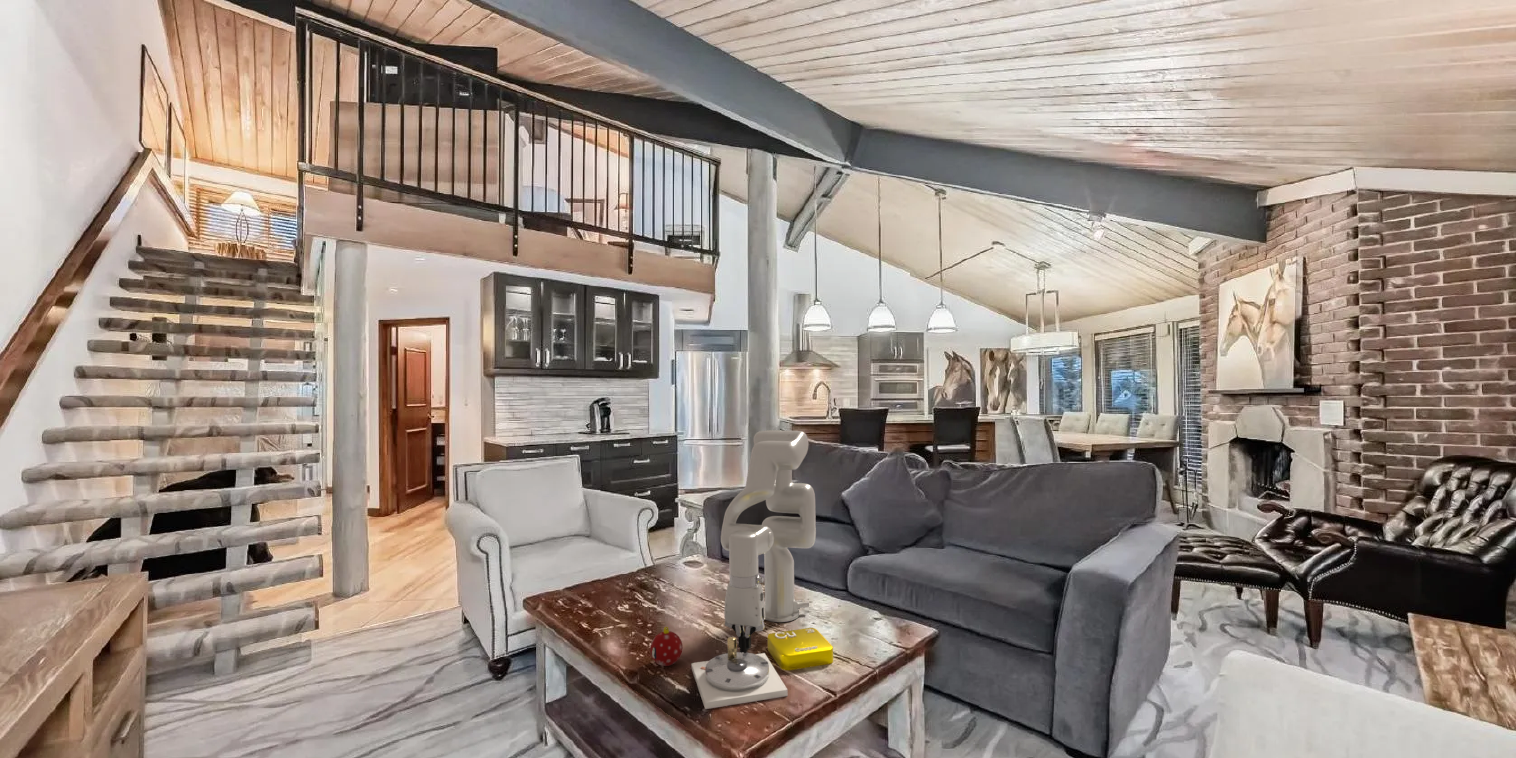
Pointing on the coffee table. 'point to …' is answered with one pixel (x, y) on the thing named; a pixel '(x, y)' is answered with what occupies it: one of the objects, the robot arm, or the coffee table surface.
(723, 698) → the base plate
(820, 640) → the element tile
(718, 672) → the rotary dial
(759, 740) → the coffee table surface
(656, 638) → the christmas ornament
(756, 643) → the coffee table surface
